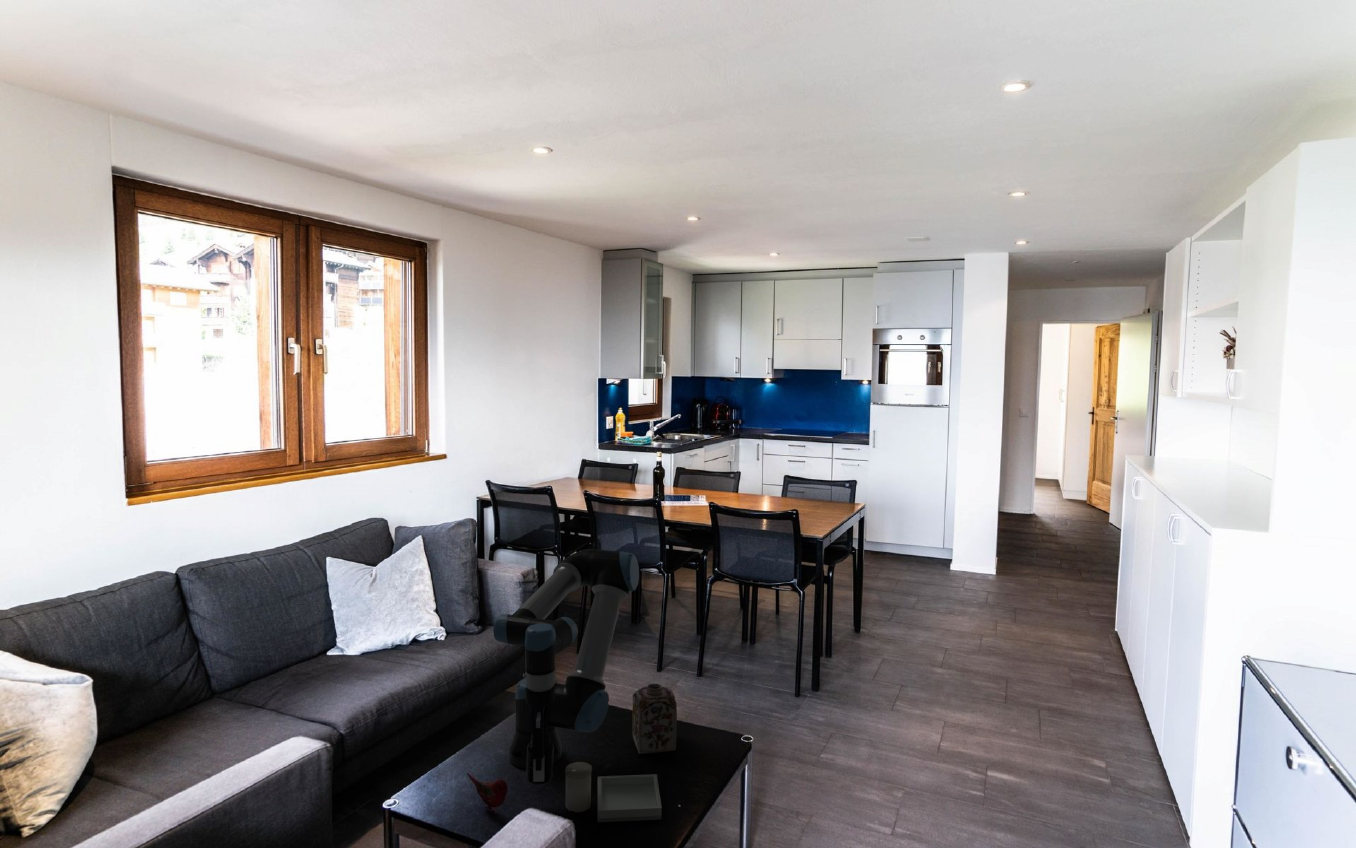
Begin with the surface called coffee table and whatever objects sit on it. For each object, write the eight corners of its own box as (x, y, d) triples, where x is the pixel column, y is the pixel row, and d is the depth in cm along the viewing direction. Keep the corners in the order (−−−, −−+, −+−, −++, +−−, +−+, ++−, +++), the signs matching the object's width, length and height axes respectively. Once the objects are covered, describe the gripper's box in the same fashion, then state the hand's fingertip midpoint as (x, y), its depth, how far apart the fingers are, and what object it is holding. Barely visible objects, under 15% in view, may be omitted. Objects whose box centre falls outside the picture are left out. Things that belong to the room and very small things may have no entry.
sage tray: (597, 787, 200) (597, 776, 200) (656, 785, 202) (656, 774, 202) (597, 822, 185) (597, 810, 184) (661, 819, 186) (661, 808, 186)
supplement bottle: (529, 788, 186) (529, 742, 185) (523, 774, 193) (523, 730, 192) (556, 782, 189) (556, 737, 188) (549, 769, 195) (550, 725, 194)
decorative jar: (638, 755, 218) (638, 695, 217) (631, 736, 229) (632, 680, 228) (677, 751, 221) (678, 692, 220) (668, 733, 232) (669, 677, 231)
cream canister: (565, 798, 195) (565, 762, 194) (591, 797, 196) (592, 761, 195) (564, 813, 188) (564, 776, 188) (591, 812, 189) (591, 775, 188)
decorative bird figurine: (503, 825, 183) (503, 786, 182) (462, 798, 194) (462, 761, 193) (512, 820, 185) (512, 781, 184) (471, 793, 196) (471, 757, 196)
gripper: (528, 671, 198) (528, 753, 200) (521, 704, 179) (521, 795, 181) (557, 670, 199) (556, 752, 201) (552, 702, 180) (552, 794, 181)
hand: (540, 772), depth 191 cm, fingers closed on supplement bottle, 7 cm apart
